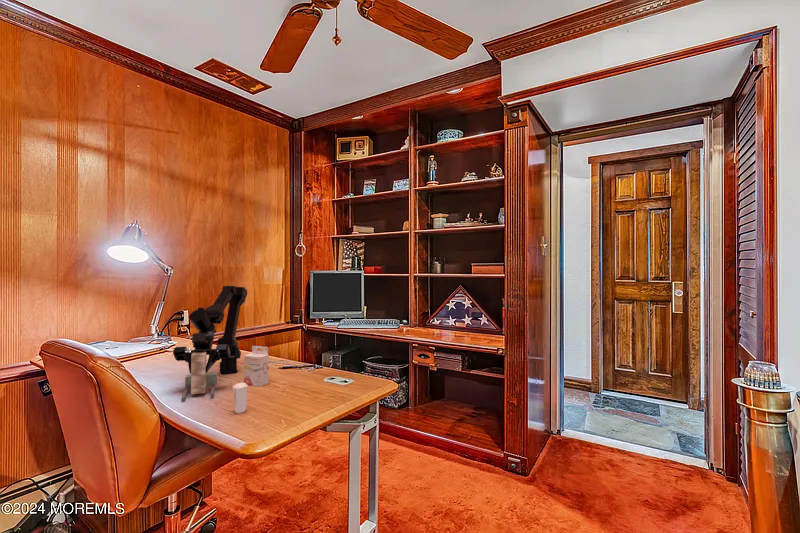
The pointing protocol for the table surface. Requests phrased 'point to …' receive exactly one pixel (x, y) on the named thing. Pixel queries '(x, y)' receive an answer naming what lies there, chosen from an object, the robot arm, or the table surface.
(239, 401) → the milkshake
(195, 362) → the post
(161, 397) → the table surface
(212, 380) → the guide track
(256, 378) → the ink cartridge box
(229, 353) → the robot arm
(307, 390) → the table surface
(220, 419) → the table surface
